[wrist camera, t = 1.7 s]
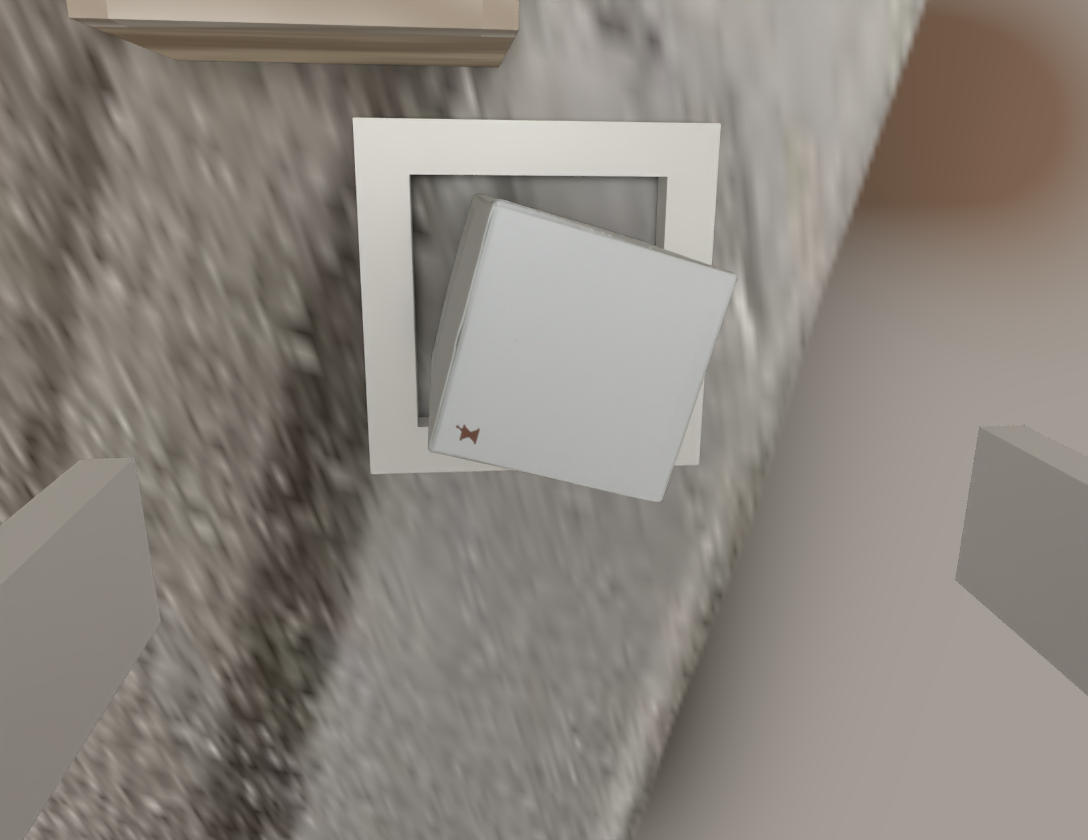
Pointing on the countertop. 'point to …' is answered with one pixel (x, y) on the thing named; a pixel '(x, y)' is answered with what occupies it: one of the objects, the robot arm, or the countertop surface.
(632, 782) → the countertop surface
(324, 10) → the tray
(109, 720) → the countertop surface
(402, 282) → the white flat square frame
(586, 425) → the supplement box
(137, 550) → the robot arm
